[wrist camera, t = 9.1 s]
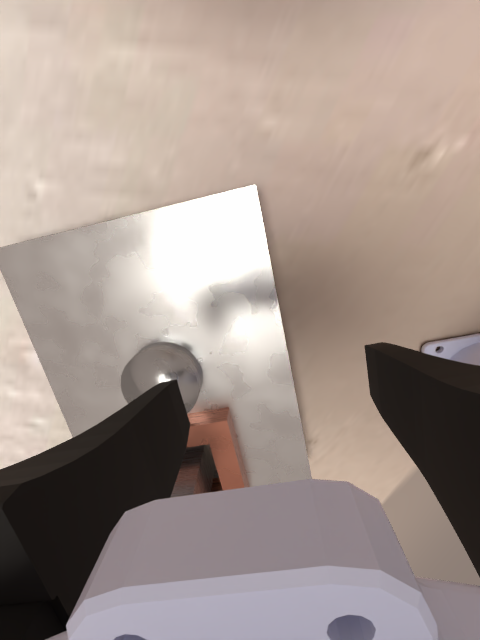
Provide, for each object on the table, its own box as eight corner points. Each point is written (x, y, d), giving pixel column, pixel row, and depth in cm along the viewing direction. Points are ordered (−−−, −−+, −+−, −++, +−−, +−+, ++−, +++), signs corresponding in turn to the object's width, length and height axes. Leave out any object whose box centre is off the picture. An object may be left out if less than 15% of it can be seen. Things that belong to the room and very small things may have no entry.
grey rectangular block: (210, 418, 23) (184, 528, 15) (218, 446, 24) (198, 566, 16) (178, 424, 24) (134, 534, 15) (187, 451, 24) (150, 571, 16)
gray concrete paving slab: (255, 190, 19) (255, 179, 15) (316, 505, 25) (326, 554, 21) (23, 247, 20) (-32, 251, 17) (136, 528, 27) (116, 577, 23)
